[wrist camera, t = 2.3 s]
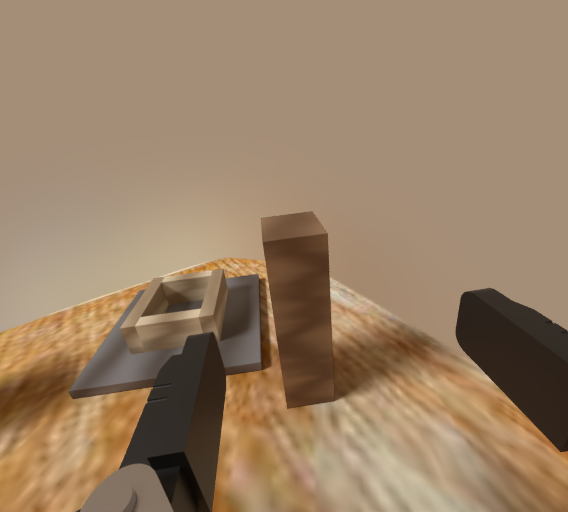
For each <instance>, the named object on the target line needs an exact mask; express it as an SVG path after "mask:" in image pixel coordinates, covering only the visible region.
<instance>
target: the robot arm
mask: <svg viewBox="0 0 568 512" xmlns="http://www.w3.org/2000/svg"><path fill="white" fill-rule="evenodd" d="M456 338H457V340H458V343H459V345H460V346H461V348H462V349H463V351H464V352H465V353H466V354H467V355H468V356H469V357H470V358H471V359H472V360H473V361H474V362H475V363H476V364H477V365H478V366H479V367H480V368H481V369H482V370H483V371H484V372H485V374H486V375H487V376H488V377H489V378H490V379H491V380H492V381H493V382H494V383H495V384H496V385H497V386H498V387H499V388H500V389H501V390H502V391H503V392H504V393H505V394H506V395H507V396H508V398H509V399H510V400H511V401H512V402H513V403H514V404H515V405H516V406H517V407H518V408H519V409H520V410H521V411H522V412H523V413H524V414H525V415H526V416H527V417H528V418H529V419H530V420H531V422H532V423H533V424H534V425H535V426H536V427H537V428H538V429H539V430H540V431H541V432H542V433H543V434H544V435H545V436H546V437H547V438H548V439H549V440H550V441H551V442H552V443H553V444H554V446H555V447H556V448H557V449H558V450H559V451H560V452H565V451H568V331H567V330H566V329H564V328H562V327H561V326H559V325H558V324H556V323H554V324H553V323H552V321H551V320H550V319H548V318H546V317H545V316H543V315H542V314H540V313H538V312H537V311H535V310H534V309H531V308H529V307H526V306H524V305H521V304H519V303H516V302H514V301H512V300H510V299H509V298H507V297H506V296H504V295H503V294H501V293H499V292H498V291H496V290H495V289H491V288H487V289H481V290H474V291H468V292H465V293H463V295H462V296H461V300H460V306H459V312H458V318H457V325H456ZM225 393H226V374H225V368H224V364H223V361H222V357H221V354H220V350H219V347H218V343H217V340H216V336H215V334H214V332H208V333H202V334H195V335H189V336H188V337H187V339H186V342H185V345H184V348H183V351H182V354H178V355H172V356H171V357H170V358H169V359H168V361H167V362H166V363H165V364H164V365H163V366H162V368H161V369H160V370H159V372H158V375H157V377H156V380H155V382H154V385H153V389H152V390H151V392H150V395H149V397H148V399H147V404H145V407H144V409H143V412H142V414H141V417H140V419H139V422H138V424H137V427H136V429H135V432H134V434H133V437H132V439H131V442H130V444H129V446H128V449H127V451H126V454H125V456H124V459H123V461H122V463H121V466H120V468H119V469H118V470H117V471H115V472H114V473H112V474H111V475H110V476H108V477H107V478H106V479H105V480H103V481H102V482H101V483H100V484H99V485H98V486H97V487H96V489H95V490H94V491H93V492H92V493H91V494H90V496H89V497H88V499H87V500H86V502H85V503H84V505H83V507H82V509H80V510H78V511H77V512H212V507H213V498H214V489H215V480H216V472H217V463H218V454H219V445H220V437H221V428H222V419H223V410H224V402H225Z"/></svg>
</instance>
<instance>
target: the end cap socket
mask: <svg viewBox="0 0 568 512" xmlns="http://www.w3.org/2000/svg"><path fill="white" fill-rule="evenodd" d="M208 332H214V334H215V336H216V340H217V343H218V347H219V350H220V354H221V357H222V361H223V364H224V368H225V374H226V375H231V374H238V373H244V372H251V371H257V370H262V354H261V323H260V292H259V276H258V274H254V275H247V276H240V277H233V278H225V274H224V269H219V270H212V271H204V272H197V273H190V274H182V275H175V276H168V277H160V278H154V279H153V280H152V281H151V283H150V284H149V286H148V287H147V289H146V290H140V291H139V292H138V294H137V295H136V297H135V298H134V299H133V301H132V302H131V304H130V305H129V306H128V308H127V309H126V311H125V312H124V313H123V315H122V316H121V318H120V319H119V320H118V322H117V323H116V325H115V326H114V327H113V329H112V330H111V332H110V333H109V335H108V336H107V337H106V339H105V340H104V342H103V343H102V344H101V346H100V347H99V349H98V350H97V351H96V353H95V354H94V356H93V357H92V358H91V360H90V361H89V363H88V364H87V366H86V367H85V368H84V370H83V371H82V373H81V374H80V375H79V377H78V378H77V380H76V381H75V382H74V384H73V385H72V387H71V388H70V389H69V391H68V392H69V394H70V395H71V397H72V399H75V398H81V397H88V396H95V395H101V394H108V393H114V392H121V391H127V390H134V389H140V388H147V387H153V385H154V382H155V380H156V377H157V375H158V372H159V370H160V369H161V368H162V366H163V365H164V364H165V363H166V362H167V361H168V359H169V358H170V357H171V356H172V355H178V354H182V351H183V348H184V345H185V342H186V339H187V337H188V336H189V335H195V334H202V333H208Z"/></svg>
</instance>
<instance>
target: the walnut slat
mask: <svg viewBox="0 0 568 512" xmlns="http://www.w3.org/2000/svg"><path fill="white" fill-rule="evenodd" d="M261 225H262V240H263V247H264V254H265V261H266V268H267V275H268V281H269V288H270V295H271V302H272V308H273V315H274V322H275V329H276V335H277V342H278V349H279V356H280V363H281V369H282V376H283V383H284V390H285V396H286V403H287V409H288V408H294V407H300V406H306V405H313V404H319V403H325V402H331V401H335V398H334V374H333V350H332V326H331V302H330V278H329V254H328V233H327V232H326V230H325V229H324V227H323V226H322V224H321V223H320V222H319V220H318V219H317V217H316V216H315V215H314V213H313V212H312V211H311V212H304V213H296V214H288V215H281V216H273V217H266V218H261Z"/></svg>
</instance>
